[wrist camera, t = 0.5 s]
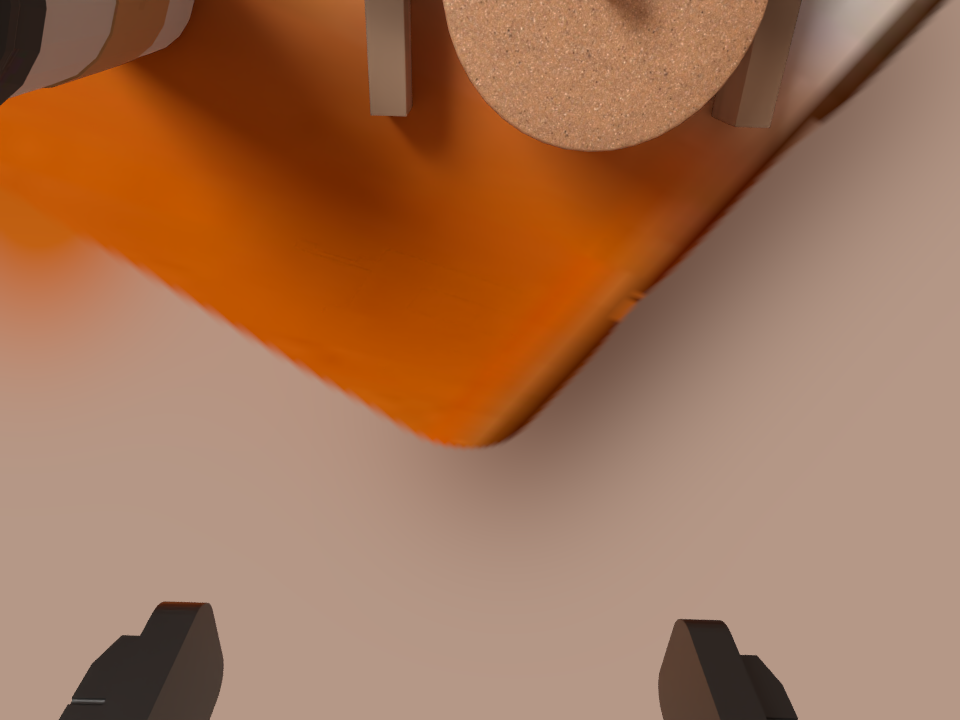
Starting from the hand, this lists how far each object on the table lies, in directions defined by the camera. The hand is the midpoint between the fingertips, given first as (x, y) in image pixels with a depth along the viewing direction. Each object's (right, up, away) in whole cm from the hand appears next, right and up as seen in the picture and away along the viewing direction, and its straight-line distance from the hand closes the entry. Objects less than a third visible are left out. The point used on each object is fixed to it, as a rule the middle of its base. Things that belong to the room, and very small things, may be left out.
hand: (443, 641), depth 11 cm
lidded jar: (+5, +21, +16) cm, 27 cm away
